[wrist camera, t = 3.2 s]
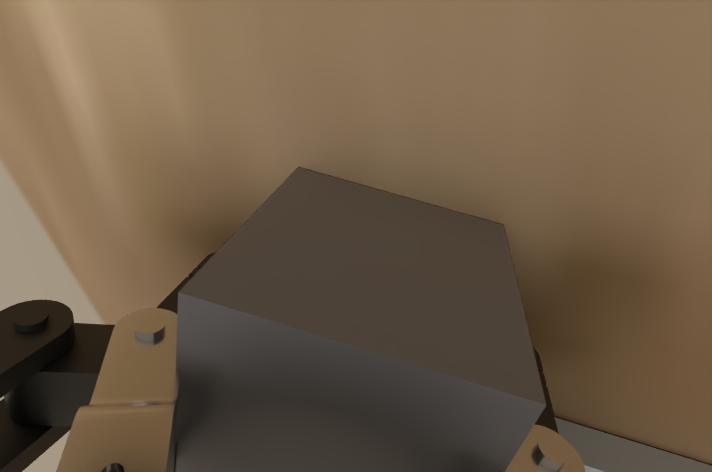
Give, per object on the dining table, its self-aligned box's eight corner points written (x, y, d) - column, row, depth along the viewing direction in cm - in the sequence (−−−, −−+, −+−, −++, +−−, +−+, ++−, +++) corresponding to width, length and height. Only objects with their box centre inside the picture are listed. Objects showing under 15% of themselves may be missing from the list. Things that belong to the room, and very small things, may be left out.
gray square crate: (503, 224, 12) (546, 405, 6) (438, 376, 14) (430, 590, 9) (298, 167, 12) (177, 292, 7) (272, 325, 15) (171, 502, 9)
